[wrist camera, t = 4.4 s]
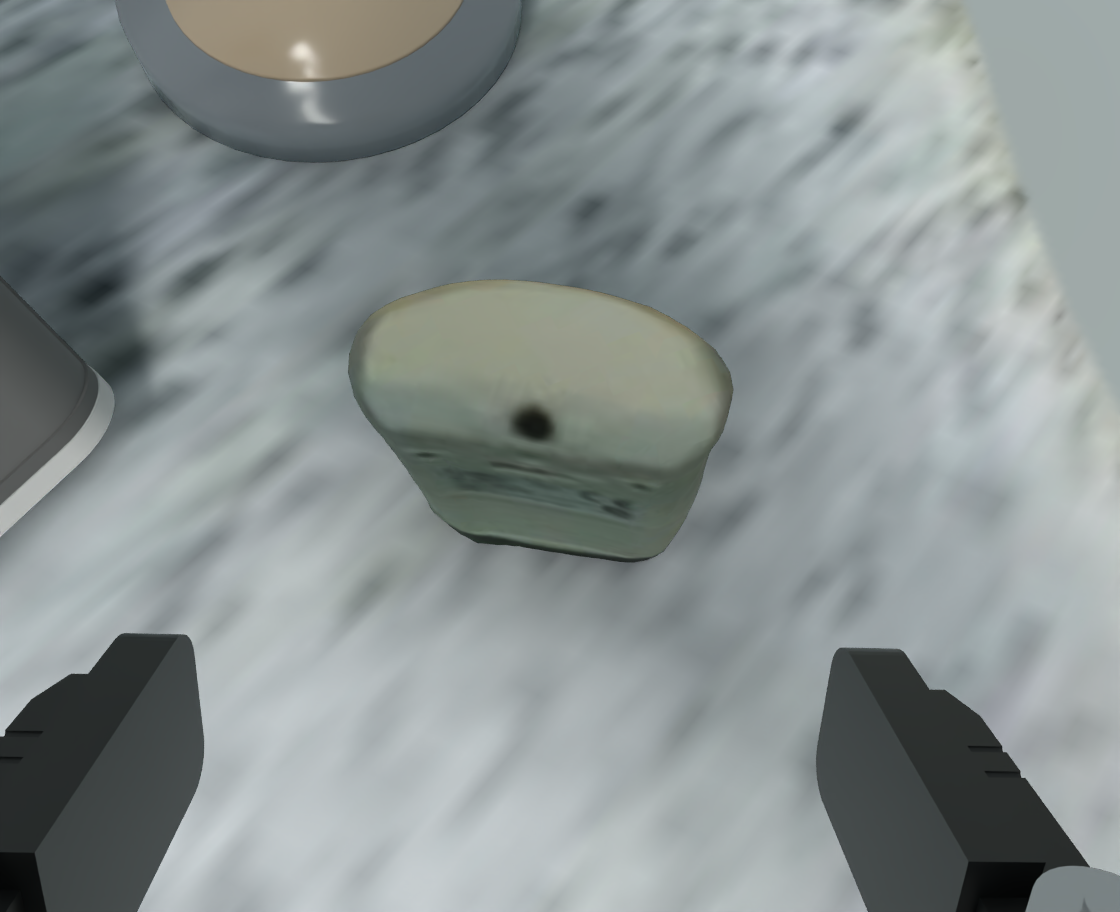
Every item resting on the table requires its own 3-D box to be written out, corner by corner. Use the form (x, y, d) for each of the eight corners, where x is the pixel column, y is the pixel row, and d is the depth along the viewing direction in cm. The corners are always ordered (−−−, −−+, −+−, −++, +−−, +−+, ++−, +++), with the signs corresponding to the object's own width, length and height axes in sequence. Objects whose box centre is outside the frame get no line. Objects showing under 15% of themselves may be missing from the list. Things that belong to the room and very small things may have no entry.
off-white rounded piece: (469, 669, 20) (421, 563, 12) (383, 461, 21) (298, 260, 14) (708, 562, 21) (797, 405, 13) (607, 372, 22) (637, 140, 15)
